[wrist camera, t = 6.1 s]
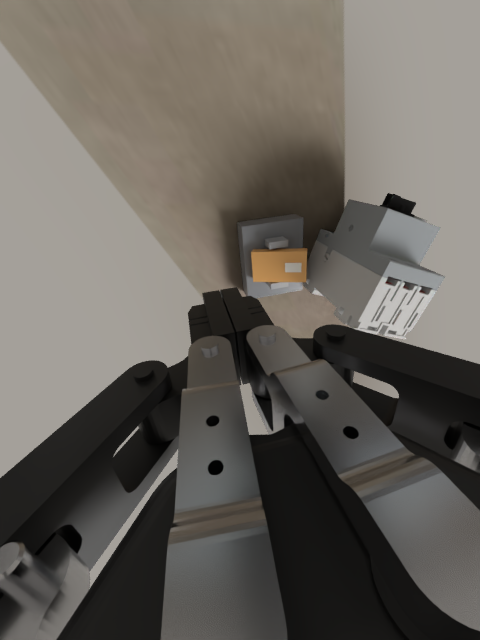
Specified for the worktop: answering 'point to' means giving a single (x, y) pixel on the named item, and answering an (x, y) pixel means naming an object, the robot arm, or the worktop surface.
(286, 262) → the block
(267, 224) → the switch box
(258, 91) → the worktop surface
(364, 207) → the electrical contactor
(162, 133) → the worktop surface
